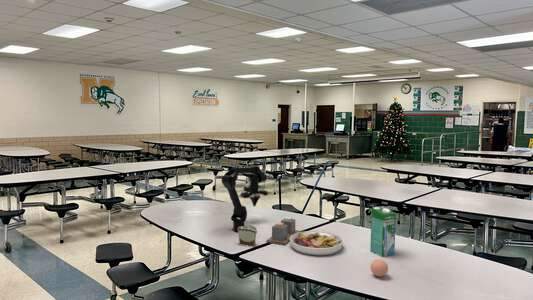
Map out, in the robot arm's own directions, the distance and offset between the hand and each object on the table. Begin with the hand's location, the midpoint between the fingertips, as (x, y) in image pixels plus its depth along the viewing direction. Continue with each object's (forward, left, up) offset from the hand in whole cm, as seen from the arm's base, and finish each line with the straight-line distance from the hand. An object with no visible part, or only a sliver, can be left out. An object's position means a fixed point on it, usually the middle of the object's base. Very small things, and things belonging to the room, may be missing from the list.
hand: (254, 206), depth 251 cm
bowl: (+8, -56, -14) cm, 58 cm away
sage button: (+8, -29, -5) cm, 30 cm away
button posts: (+2, -32, -12) cm, 35 cm away
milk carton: (+33, -82, -13) cm, 89 cm away
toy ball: (+8, -101, -13) cm, 102 cm away
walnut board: (+2, -32, -13) cm, 35 cm away
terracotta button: (-4, -36, -5) cm, 37 cm away
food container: (-22, -31, -13) cm, 40 cm away
